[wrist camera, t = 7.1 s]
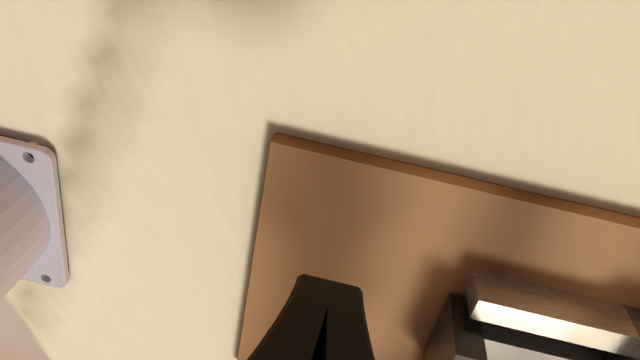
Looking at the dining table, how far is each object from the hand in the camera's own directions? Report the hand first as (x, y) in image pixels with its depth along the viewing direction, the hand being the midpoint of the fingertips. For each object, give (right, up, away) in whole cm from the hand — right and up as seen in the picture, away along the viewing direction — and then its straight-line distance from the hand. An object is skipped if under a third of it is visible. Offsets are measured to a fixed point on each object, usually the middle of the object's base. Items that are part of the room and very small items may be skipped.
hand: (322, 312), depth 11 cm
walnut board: (+6, -3, +12) cm, 14 cm away
